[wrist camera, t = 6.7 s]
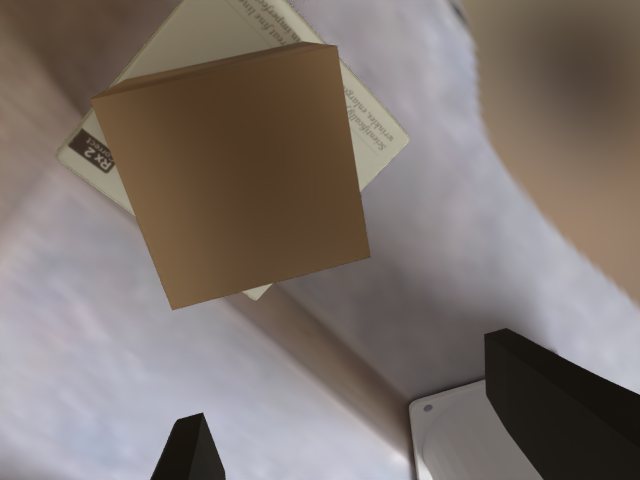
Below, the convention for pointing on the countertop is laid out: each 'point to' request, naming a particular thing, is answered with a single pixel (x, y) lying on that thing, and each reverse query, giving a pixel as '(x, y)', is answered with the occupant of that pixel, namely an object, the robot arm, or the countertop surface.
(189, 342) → the countertop surface
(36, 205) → the countertop surface
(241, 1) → the small box
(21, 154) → the countertop surface
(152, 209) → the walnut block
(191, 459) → the robot arm
